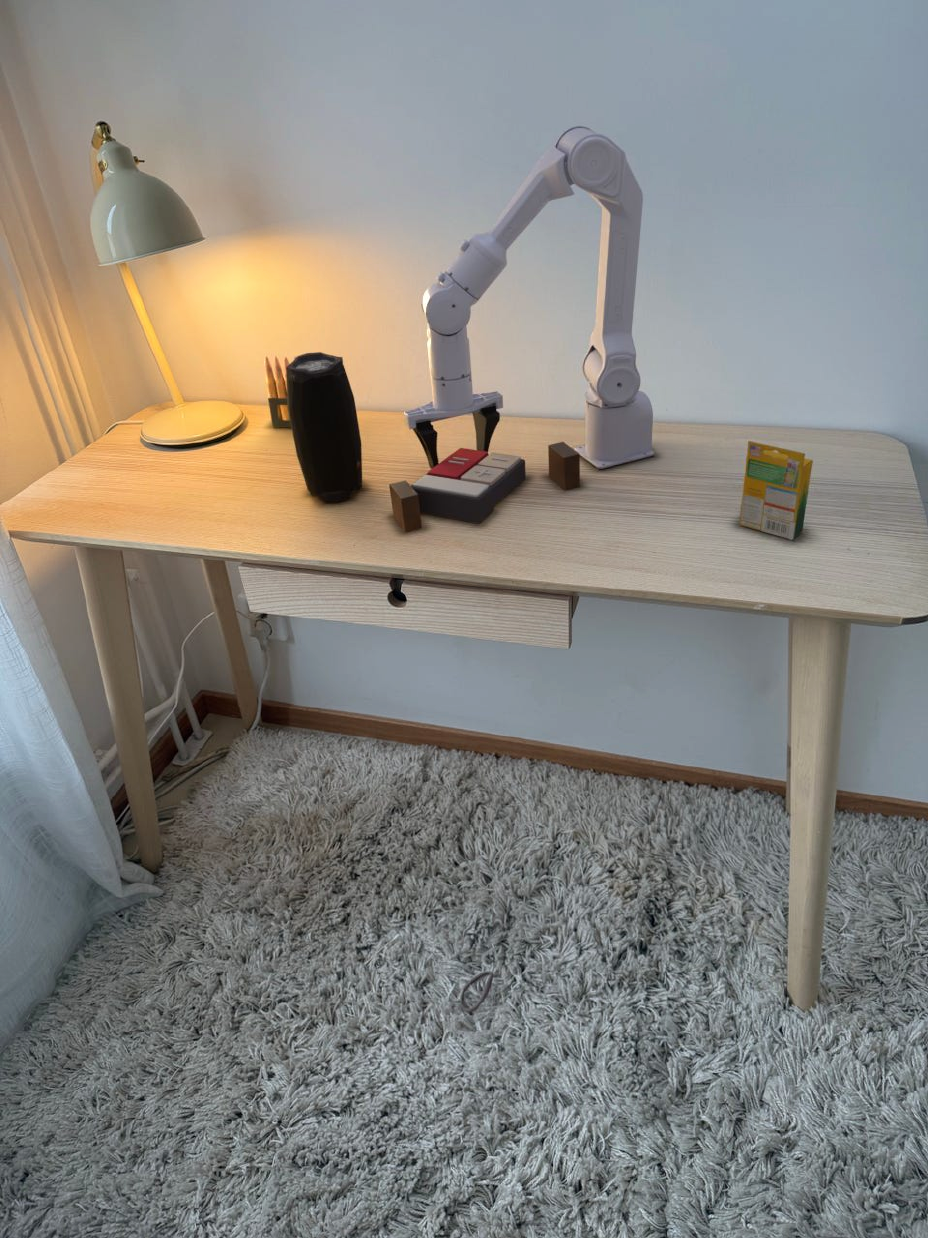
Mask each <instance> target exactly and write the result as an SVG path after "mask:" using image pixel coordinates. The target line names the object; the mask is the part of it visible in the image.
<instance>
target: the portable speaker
mask: <svg viewBox="0 0 928 1238" xmlns="http://www.w3.org/2000/svg"><path fill="white" fill-rule="evenodd" d="M295 357H296V358H295V359H294V358H293V360H294V361H293V360H292V361H291V362H289V365H288V366H287V367H286V381H287V407H288V413H289V418H290V423H291V427H290V428H291V433H292V438H293V442H294V448H295V453H296V457H297V461H298V465H299V466H300V470H301V473H302V476H303V480H304V482H305V485H306V489H307V491H308V492H309V494H310V495H312V494H313V495H314V496H316V497H318V498H319V499H320V500H322V501H323V502H324V503H326V504H332V503H333V504H334V503H339V502H340V503H341V502H344V501H347V500H350V498H351V496H352V495H353V493H354V492H355V491H356V490H358V489H360V488H363V456H362V453H363V452H362V449H363V448H362V439H361V432H360V426H359V419H358V413H357V407H356V401H355V396H354V393H353V389H352V387H351V384H350V380H349V378H348V374H347V371H346V368H345V364H344V360H343V356H337V355H332V354H327V353H325V352H322V351H318V352H306V353H303V354H300V355H296V356H295Z"/></svg>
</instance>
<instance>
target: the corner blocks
mask: <svg viewBox="0 0 928 1238" xmlns="http://www.w3.org/2000/svg"><path fill="white" fill-rule="evenodd" d="M547 453H548V456H547V457H548V478H550V480H552V481H553V482H554V483H556V484H557V485H558V487H560V488H562V489H563V490H564V491H567V490H571V489H574V488H575V489H576V488H578V487H580V486H581V478H580V477H581V475H580V474H581V463H580V462H581V455H580V454H579V453H578V452H576V451H575V450H574V448H572V447H571V446H570V445H568V444H567V443H565V441H559V442H556V443H551V444H548V445H547ZM388 486H389V494H390V499H391V500H390V502H391V509H392V516H393V518H394V520H395V521H396V522H397V523H398V525H399V526H400V527H401V528H402V530H403V531H404V532H405V533H407V532H410V531H414V530H418V529H422V528H423V525H422V518H421V517H422V516H421V513H420V507H419V498H418V494H417V493H416V492H415V490H414V489H413V488H412V487H411V485H410V483H409V482H407V480H406V479H404V480H401V481H398V482H393V483H389V484H388Z"/></svg>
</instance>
